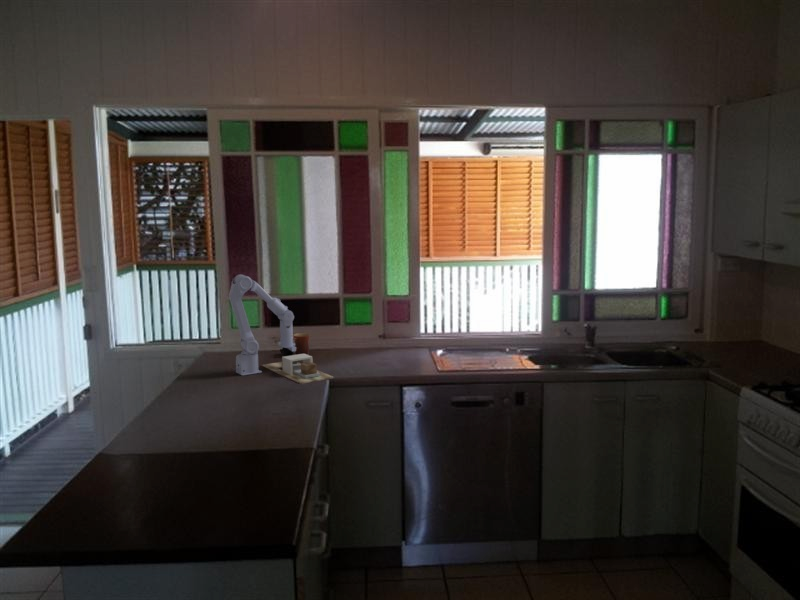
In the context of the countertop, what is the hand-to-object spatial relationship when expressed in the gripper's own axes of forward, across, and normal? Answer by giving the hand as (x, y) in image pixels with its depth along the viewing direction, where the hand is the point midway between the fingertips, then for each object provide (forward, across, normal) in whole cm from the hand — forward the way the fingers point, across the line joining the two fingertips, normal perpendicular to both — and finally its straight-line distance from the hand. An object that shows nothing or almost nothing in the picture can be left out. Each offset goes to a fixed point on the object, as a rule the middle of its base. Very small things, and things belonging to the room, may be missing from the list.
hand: (287, 364), depth 290 cm
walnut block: (0, -21, 0) cm, 21 cm away
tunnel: (+2, -10, 0) cm, 11 cm away
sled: (+1, -13, 0) cm, 13 cm away
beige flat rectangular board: (+2, -8, 0) cm, 9 cm away
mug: (+2, +21, -17) cm, 27 cm away
